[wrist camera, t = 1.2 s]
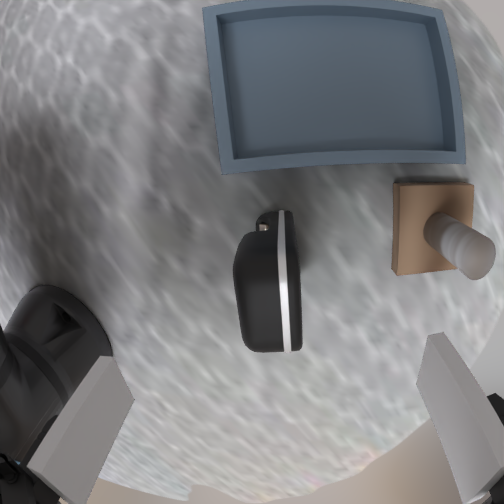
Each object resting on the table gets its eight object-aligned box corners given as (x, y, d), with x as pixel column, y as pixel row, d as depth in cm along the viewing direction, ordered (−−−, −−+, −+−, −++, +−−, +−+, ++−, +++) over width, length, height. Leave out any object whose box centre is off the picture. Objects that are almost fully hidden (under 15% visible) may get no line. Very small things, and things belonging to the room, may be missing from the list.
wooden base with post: (391, 268, 26) (427, 316, 18) (393, 183, 24) (439, 203, 16) (459, 261, 25) (505, 301, 17) (465, 182, 23) (521, 201, 15)
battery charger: (246, 210, 26) (222, 260, 15) (291, 206, 25) (299, 254, 15) (255, 284, 28) (239, 366, 18) (296, 281, 28) (303, 364, 17)
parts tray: (228, 171, 25) (221, 174, 22) (210, 20, 20) (202, 7, 17) (448, 160, 22) (465, 164, 19) (428, 20, 18) (442, 10, 15)
